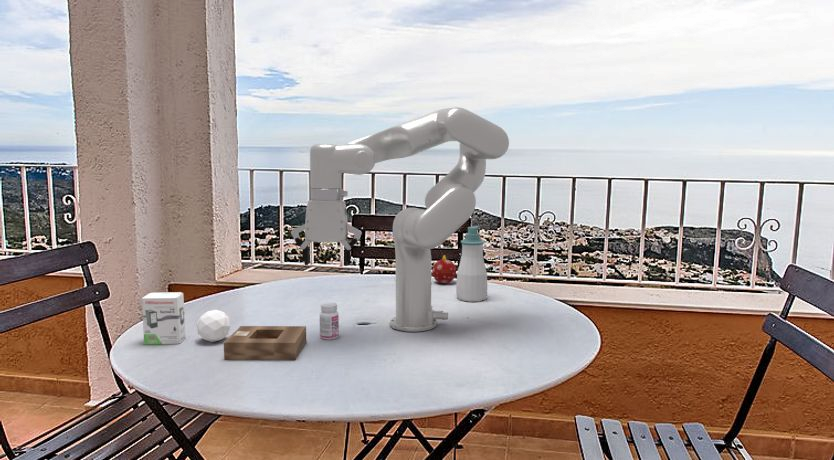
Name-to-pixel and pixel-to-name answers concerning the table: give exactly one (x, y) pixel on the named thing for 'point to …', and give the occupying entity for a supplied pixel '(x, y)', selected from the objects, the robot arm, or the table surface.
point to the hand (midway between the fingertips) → (326, 264)
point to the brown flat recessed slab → (265, 343)
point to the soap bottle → (472, 269)
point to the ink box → (163, 318)
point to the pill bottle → (329, 321)
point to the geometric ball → (213, 325)
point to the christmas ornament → (444, 270)
